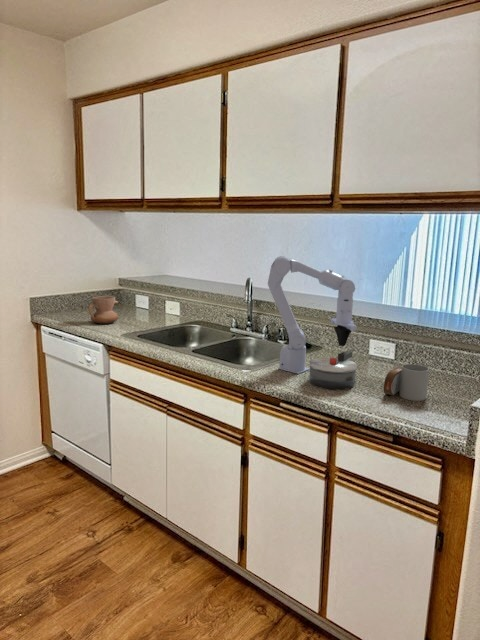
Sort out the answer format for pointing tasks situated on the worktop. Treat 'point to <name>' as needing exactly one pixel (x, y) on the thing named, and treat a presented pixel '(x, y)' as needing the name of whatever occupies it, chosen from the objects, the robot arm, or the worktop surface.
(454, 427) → the worktop surface
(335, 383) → the cooker pot
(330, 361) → the lid
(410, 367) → the cup
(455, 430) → the worktop surface
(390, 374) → the tin
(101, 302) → the ceramic jug
